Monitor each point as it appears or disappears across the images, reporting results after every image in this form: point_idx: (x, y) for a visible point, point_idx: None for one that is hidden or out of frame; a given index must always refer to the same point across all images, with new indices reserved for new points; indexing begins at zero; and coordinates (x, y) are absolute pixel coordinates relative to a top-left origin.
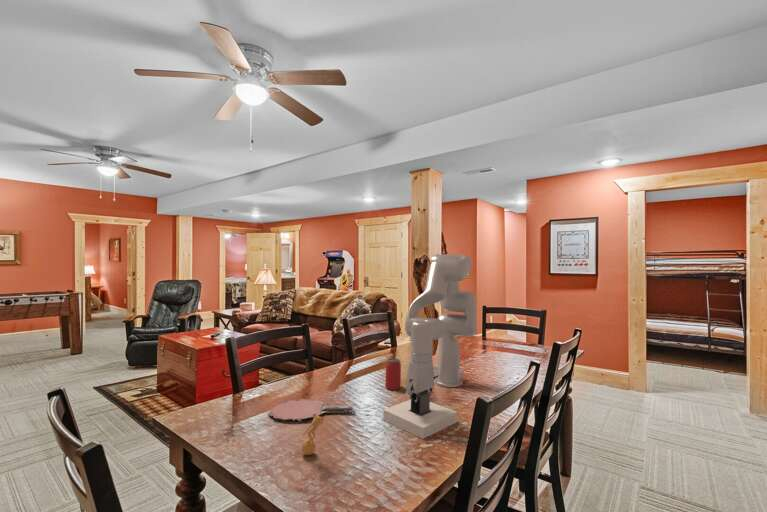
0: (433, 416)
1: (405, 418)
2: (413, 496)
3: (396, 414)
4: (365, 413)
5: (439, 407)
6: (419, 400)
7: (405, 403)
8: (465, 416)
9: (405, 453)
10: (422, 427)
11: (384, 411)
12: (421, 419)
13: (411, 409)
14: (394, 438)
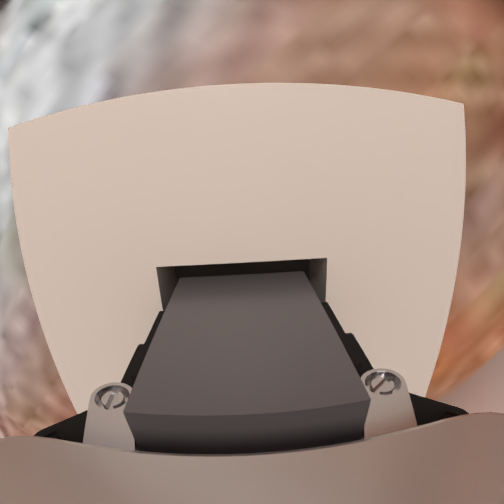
0: None
1: (60, 351)
2: None
3: (35, 263)
4: (44, 3)
5: (409, 367)
6: None
7: (260, 120)
8: (461, 380)
9: (19, 418)
10: None
11: (14, 140)
12: None
13: (159, 316)
14: (11, 338)
